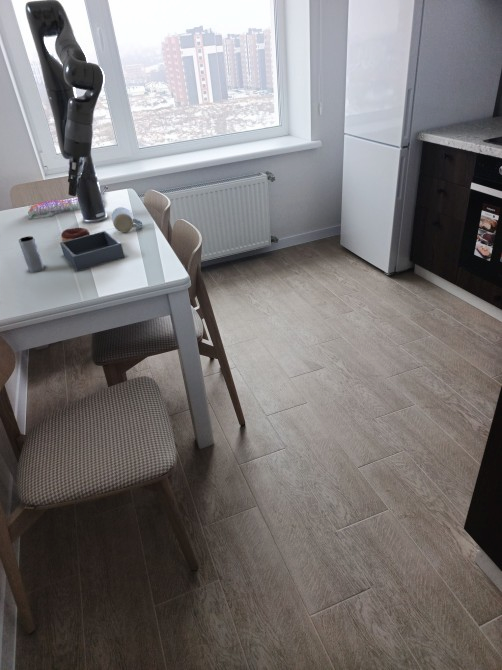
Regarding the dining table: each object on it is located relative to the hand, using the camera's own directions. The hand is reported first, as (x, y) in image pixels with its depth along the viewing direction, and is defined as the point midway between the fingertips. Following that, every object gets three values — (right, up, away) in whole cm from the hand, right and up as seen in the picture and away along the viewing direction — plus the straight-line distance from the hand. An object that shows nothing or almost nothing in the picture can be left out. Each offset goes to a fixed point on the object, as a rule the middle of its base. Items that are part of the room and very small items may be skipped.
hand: (74, 191), depth 147 cm
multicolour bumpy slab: (-27, +10, +62) cm, 68 cm away
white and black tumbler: (-14, -24, +5) cm, 28 cm away
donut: (-8, -11, +26) cm, 29 cm away
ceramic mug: (+9, -5, +32) cm, 34 cm away
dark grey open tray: (+3, -19, +11) cm, 22 cm away
